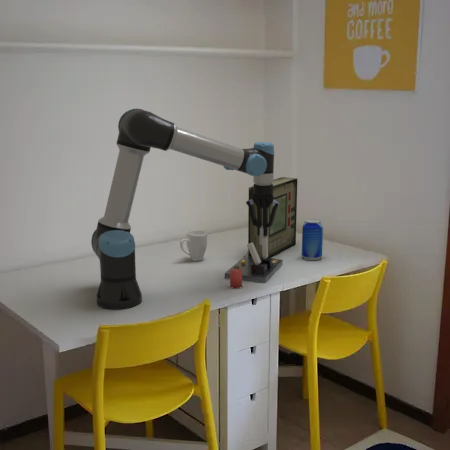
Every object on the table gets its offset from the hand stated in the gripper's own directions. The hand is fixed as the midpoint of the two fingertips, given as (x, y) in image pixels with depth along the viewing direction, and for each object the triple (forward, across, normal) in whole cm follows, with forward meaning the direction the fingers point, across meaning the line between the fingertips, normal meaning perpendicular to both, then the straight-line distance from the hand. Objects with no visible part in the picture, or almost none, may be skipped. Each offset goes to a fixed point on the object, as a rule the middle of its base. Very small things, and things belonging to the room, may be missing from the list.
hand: (262, 243), depth 242 cm
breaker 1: (+6, -2, +8) cm, 10 cm away
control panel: (+12, +3, -28) cm, 30 cm away
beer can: (+11, -15, -23) cm, 30 cm away
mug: (+12, +30, -4) cm, 33 cm away
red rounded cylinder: (+11, +4, +20) cm, 23 cm away
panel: (+11, +2, +1) cm, 11 cm away
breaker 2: (+6, -2, 0) cm, 6 cm away
